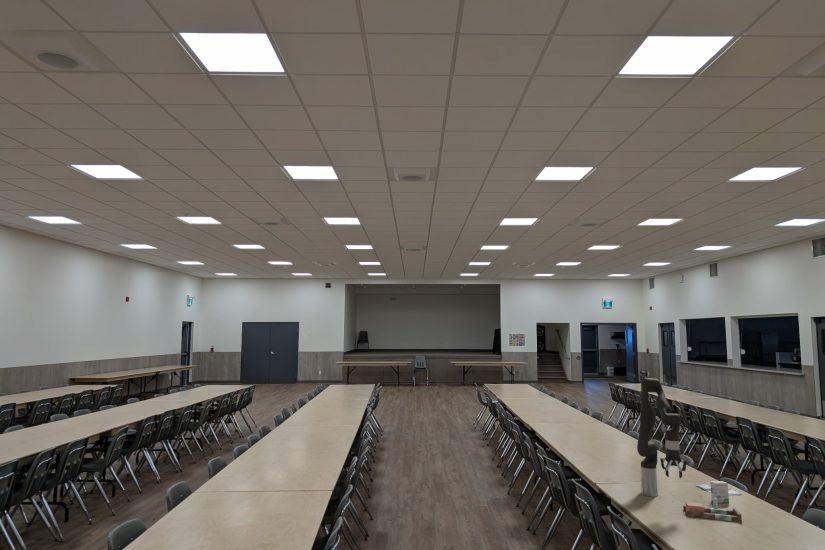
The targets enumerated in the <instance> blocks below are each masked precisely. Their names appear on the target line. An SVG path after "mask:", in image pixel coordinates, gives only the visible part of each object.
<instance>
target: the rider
mask: <svg viewBox="0 0 825 550" xmlns="http://www.w3.org/2000/svg"><path fill="white" fill-rule="evenodd" d="M685 506H686V511H685V512H686V513H687V511H693V512H702V513H704V508H705V507H704V506H703V504H702V503H700V502H690V501H689V502H687V501H685Z"/></svg>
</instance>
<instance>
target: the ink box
mask: <svg viewBox="0 0 825 550" xmlns="http://www.w3.org/2000/svg"><path fill="white" fill-rule="evenodd" d="M709 482H710V485H711V493H710V496H711V497H710V498H711V501H712V502H713V498H717V504H719V503H721V504H722V503H724V504H725V503H730V498H729V496H730V495H729V494H728V488H729V483H727V482H725V481H723V480H722V481H721V480H720V481H719V480H718V481H717V480H715V481H714V480H713V481H712V480H711V481H709Z"/></svg>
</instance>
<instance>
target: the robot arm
mask: <svg viewBox="0 0 825 550" xmlns="http://www.w3.org/2000/svg"><path fill="white" fill-rule="evenodd" d="M640 381H641V382H640V396H641V398H640V400H641V401H640V414H639V416H640V417H639V433H638V439H637V445H636V447H637V453H638V455H639V456H641V457H644V459H642V460H641V461H640V474H641V475H640V476H641V477H640V484H641V485H640V486H641V487H640V488H641V494H642V496H646V497H654V498H655V497H658V495H659V494H658V491H659V490H658V475H657V474H658V472H657V465H658V447H657V445H656V443H655V442H653V441H651V440H649V439H650V438H649V437H650V434H651V433H652V431H653V430H654V427H655V426H656V423H657V422H656V419H657V412H656V410H655V408H654V407H653V404H652V403H651V401H650V400H649V398H650V397H649V393H654V394H655V393H656V394H657V397H656V400H655V405H656V407H657V410H658V411H659V413H660V420H661V423H662V424H663V425H664V426H666V427H667V426H668V427H670V426H672V427H671V428H668V429H666V430H665V431H664V437H665V438H664V439H665V442H664V443H665V444H664V447H665V449H664V450H665V457H664V458H663V457H660V458H659V461H660V465H661V468H662V469H663V470H664V471H665V476H666V477H667V478H669V477H670V473H669V469H670V467H672V466H673V467H677V468H678V476H679V479H682V478H683V472H686V469H687V460H686V459H682V458H681V450H680V440H679V433H680V428H681V424H682V418H681V416H680V414H678V413H673V409H672V407H671V405H670V403H669V401H668V400H667V398H666V395H665V391H664V389H663V386H662V383H661V381H660V380H659V379H658V378H654V377H643V378H642V379H641V380H640ZM665 462H667V463H666V466H665ZM680 463H681V464H682V467H681V466H680Z"/></svg>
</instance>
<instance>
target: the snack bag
mask: <svg viewBox="0 0 825 550" xmlns="http://www.w3.org/2000/svg"><path fill="white" fill-rule="evenodd" d="M695 486H696V487H697V488H700V489H702V490H703V491H705V492H707V493H710V494H711V485H710V484H695ZM728 494H729V496H742V495H743V494H742V493H740V492H737V491H735V490H734V489H732V488H731V487H728Z"/></svg>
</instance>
